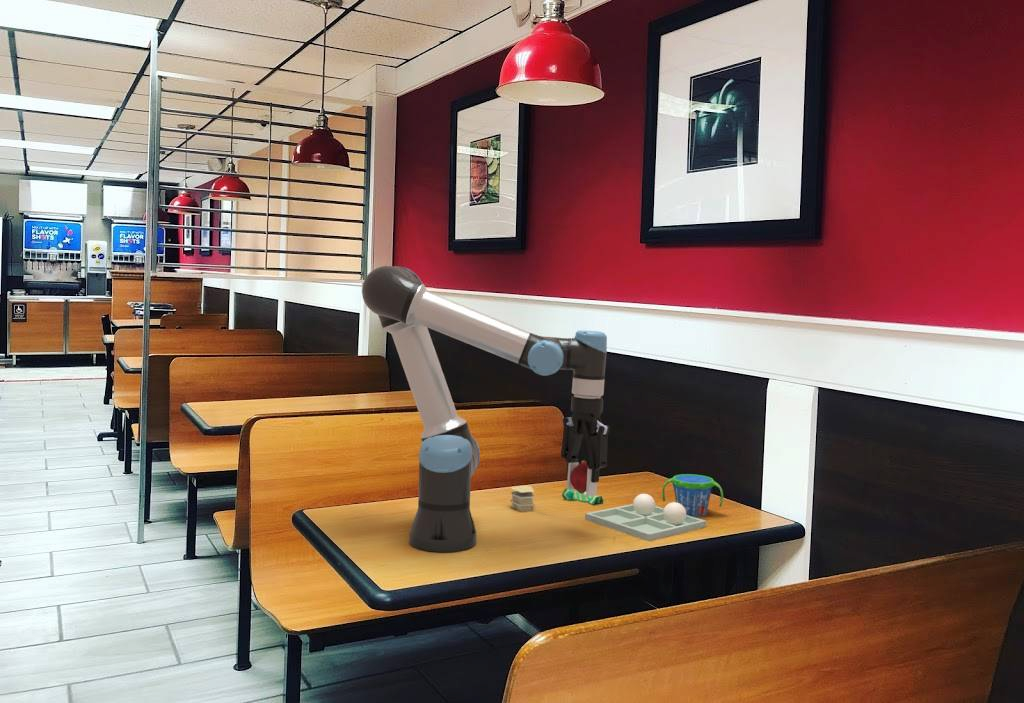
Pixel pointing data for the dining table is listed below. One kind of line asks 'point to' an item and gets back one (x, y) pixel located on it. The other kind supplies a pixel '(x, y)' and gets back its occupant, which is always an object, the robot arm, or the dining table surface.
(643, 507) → the egg far left
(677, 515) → the egg far right
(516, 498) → the layered cracker stack
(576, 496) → the candy
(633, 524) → the egg tray
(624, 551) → the dining table surface
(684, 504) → the snack cup
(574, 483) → the onion
